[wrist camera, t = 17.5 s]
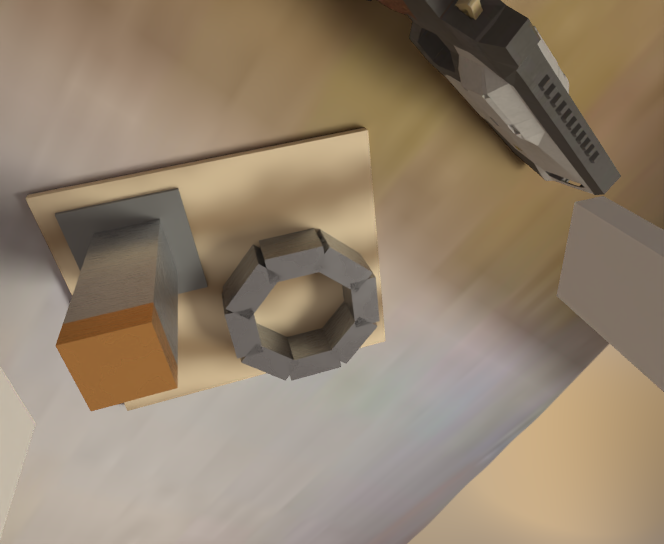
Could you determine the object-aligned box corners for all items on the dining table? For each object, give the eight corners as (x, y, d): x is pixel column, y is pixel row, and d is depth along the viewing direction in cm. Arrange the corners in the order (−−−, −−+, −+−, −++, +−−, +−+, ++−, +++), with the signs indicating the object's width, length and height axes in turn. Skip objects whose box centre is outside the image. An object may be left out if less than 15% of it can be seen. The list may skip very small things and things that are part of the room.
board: (28, 194, 37) (25, 198, 36) (364, 127, 41) (367, 130, 40) (128, 404, 48) (127, 410, 48) (382, 336, 52) (385, 341, 52)
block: (116, 287, 41) (90, 411, 29) (93, 233, 38) (55, 345, 27) (178, 272, 42) (177, 388, 30) (159, 218, 39) (151, 321, 27)
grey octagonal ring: (209, 251, 42) (211, 272, 39) (359, 217, 44) (372, 234, 41) (243, 367, 49) (247, 392, 46) (370, 333, 51) (382, 355, 48)
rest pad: (55, 212, 37) (54, 215, 37) (178, 187, 39) (178, 189, 38) (99, 310, 42) (99, 312, 42) (207, 284, 43) (207, 287, 43)
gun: (481, 143, 51) (601, 219, 41) (289, -52, 32) (425, 3, 22) (515, 102, 50) (647, 171, 40) (335, -127, 31) (501, -104, 21)
